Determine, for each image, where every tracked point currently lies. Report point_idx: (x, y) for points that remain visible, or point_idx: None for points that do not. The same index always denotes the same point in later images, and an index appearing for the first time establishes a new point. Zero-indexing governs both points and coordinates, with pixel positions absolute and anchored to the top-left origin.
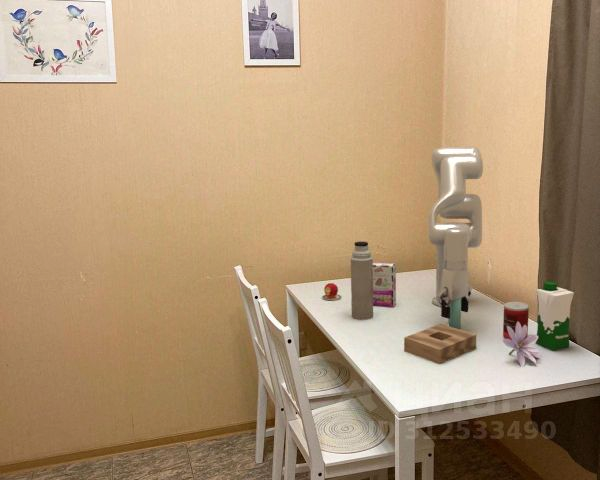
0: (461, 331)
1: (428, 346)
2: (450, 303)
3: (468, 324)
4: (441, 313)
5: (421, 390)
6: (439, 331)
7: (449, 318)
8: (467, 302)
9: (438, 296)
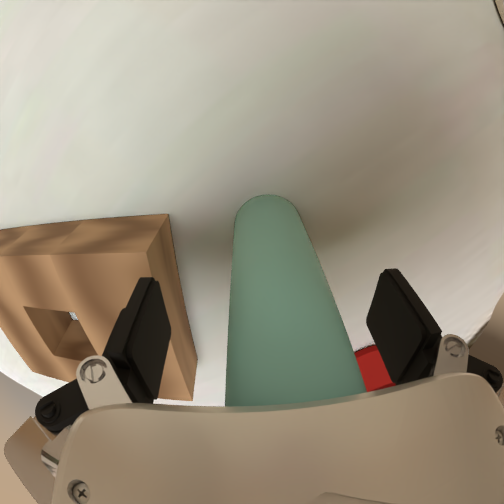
0: (165, 366)
1: (12, 342)
2: (226, 382)
3: (417, 201)
4: (133, 294)
5: (2, 358)
6: (77, 312)
7: (232, 268)
8: (394, 379)
9: (14, 454)
